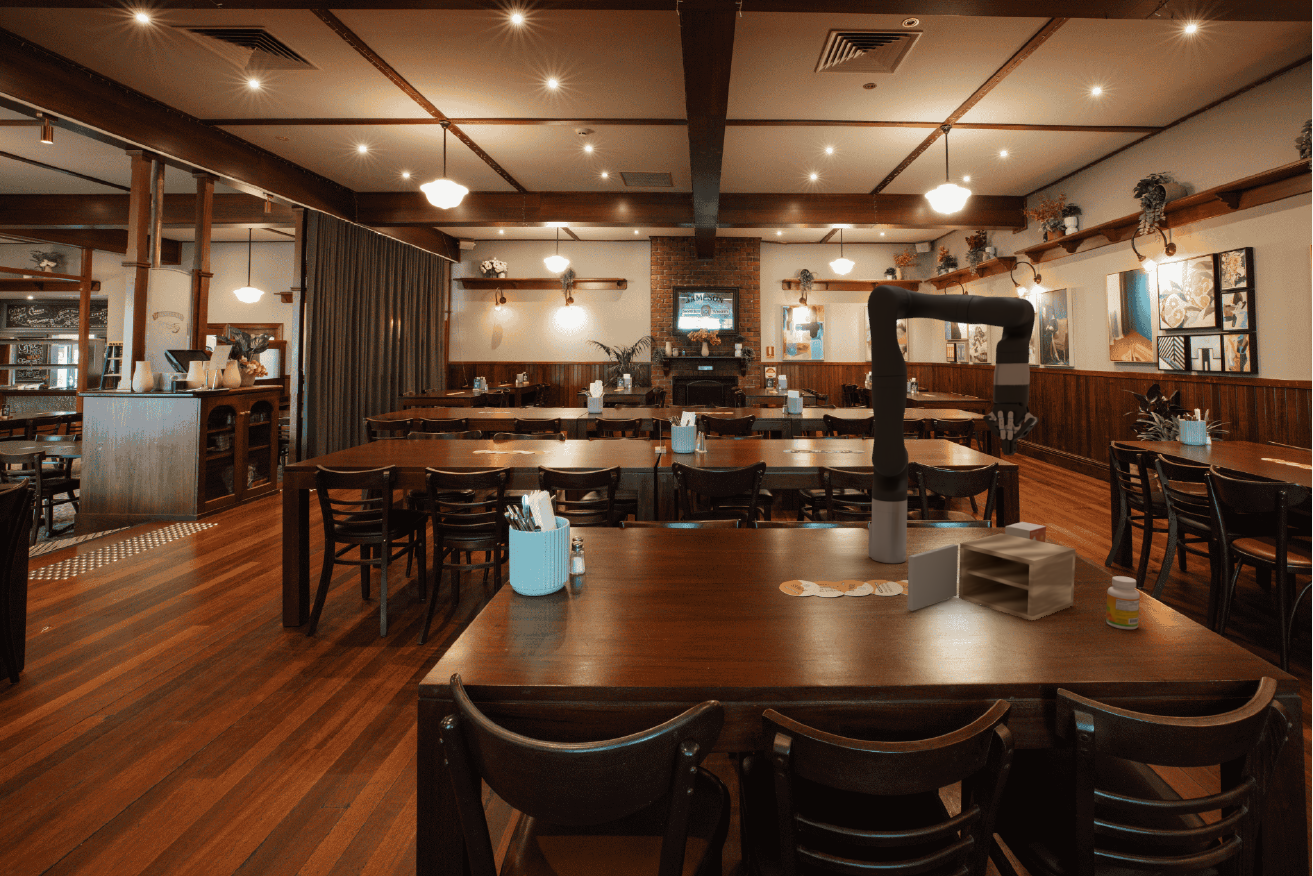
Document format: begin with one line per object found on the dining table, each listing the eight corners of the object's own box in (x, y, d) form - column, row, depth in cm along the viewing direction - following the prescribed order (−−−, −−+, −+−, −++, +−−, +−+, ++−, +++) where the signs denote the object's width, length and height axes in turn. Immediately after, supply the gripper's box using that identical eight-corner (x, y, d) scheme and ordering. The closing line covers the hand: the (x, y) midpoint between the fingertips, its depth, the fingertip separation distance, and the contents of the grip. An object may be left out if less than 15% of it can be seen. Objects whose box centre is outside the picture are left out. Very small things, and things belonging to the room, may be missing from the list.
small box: (1028, 582, 162) (1030, 530, 161) (1002, 575, 167) (1004, 525, 166) (1044, 576, 166) (1046, 525, 165) (1019, 569, 172) (1021, 521, 170)
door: (947, 593, 154) (948, 543, 153) (956, 595, 152) (958, 545, 151) (902, 607, 145) (903, 554, 144) (912, 610, 143) (913, 557, 142)
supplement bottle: (1105, 618, 138) (1108, 573, 137) (1137, 623, 135) (1140, 577, 134) (1105, 626, 134) (1108, 580, 133) (1138, 632, 131) (1141, 584, 130)
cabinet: (958, 598, 152) (960, 543, 150) (999, 585, 160) (1001, 533, 159) (1032, 621, 137) (1034, 560, 136) (1072, 606, 145) (1075, 548, 144)
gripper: (1048, 382, 152) (1045, 456, 154) (994, 382, 163) (992, 451, 165) (1030, 383, 148) (1027, 459, 150) (976, 383, 160) (973, 453, 161)
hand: (1008, 454), depth 158 cm, fingers closed
